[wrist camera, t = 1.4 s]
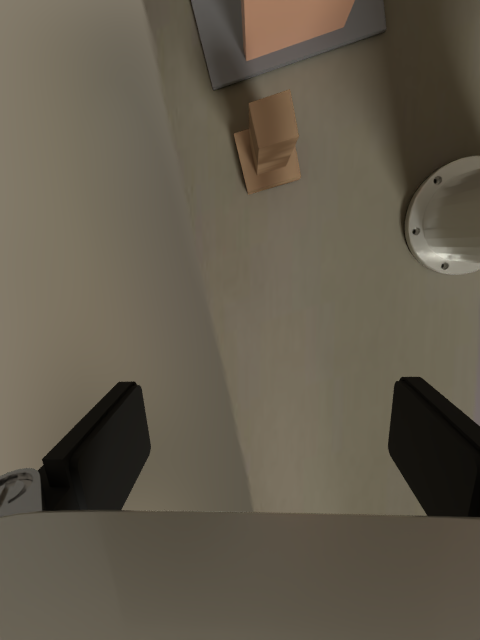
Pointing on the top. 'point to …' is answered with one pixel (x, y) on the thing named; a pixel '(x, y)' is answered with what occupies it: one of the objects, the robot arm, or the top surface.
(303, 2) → the tile
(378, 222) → the top surface
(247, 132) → the wooden block
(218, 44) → the mat
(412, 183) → the top surface
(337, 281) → the top surface
